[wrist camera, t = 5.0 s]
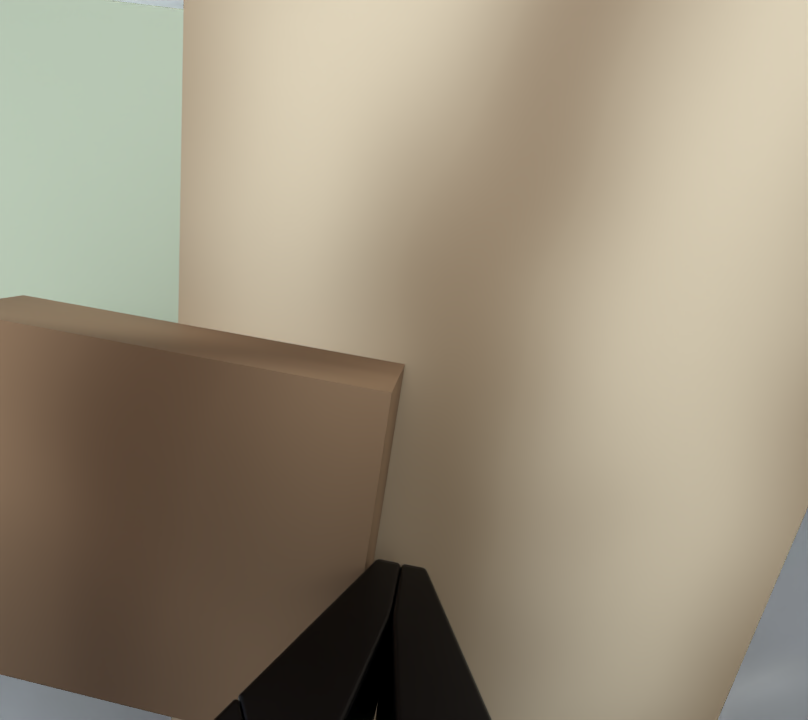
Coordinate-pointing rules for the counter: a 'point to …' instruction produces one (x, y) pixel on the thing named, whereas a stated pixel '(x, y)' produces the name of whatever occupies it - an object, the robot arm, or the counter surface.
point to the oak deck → (535, 305)
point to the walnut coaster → (177, 500)
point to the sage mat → (91, 154)
